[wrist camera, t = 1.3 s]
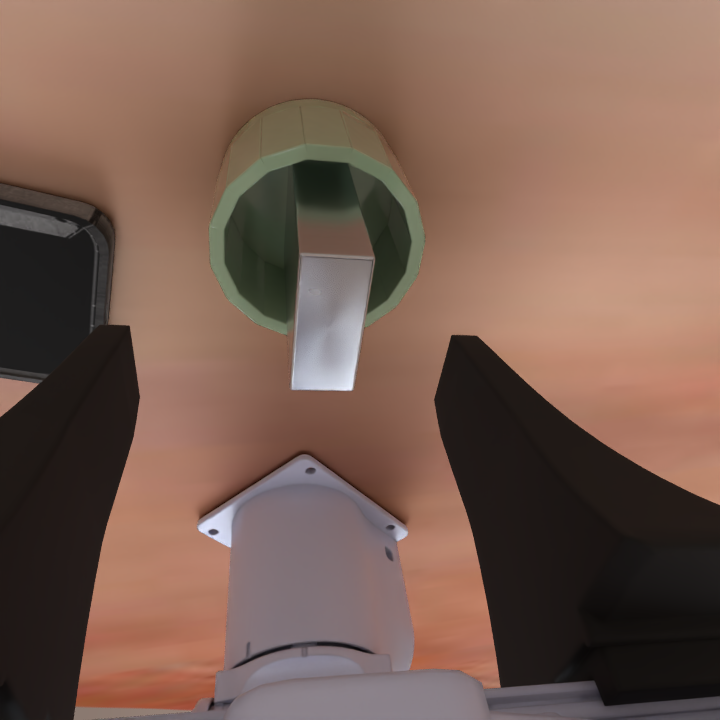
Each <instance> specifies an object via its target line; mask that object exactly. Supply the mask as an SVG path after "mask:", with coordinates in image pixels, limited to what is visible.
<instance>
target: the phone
mask: <svg viewBox="0 0 720 720" xmlns="http://www.w3.org/2000/svg"><path fill="white" fill-rule="evenodd" d="M114 248H115V232H114V228H113V226H112V224H111V222H110V220H109V219H108V218H107V217H106V216H105V215H104V213H103V212H101V211H100V210H98V209H97V208H95V207H94V206H91V205H89V204H86V203H83V202H80V201H75V200H71V199H67V198H62V197H58V196H54V195H49V194H45V193H41V192H36V191H32V190H28V189H23V188H19V187H15V186H10V185H6V184H2V183H0V378H6V379H12V380H19V381H26V382H33V383H41V382H42V381H43V380H44V379H45V378H46V377H47V376H48V375H49V374H50V373H51V372H52V371H53V370H54V369H56V368H57V367H58V366H59V365H60V364H61V363H62V362H63V361H64V360H65V359H66V358H67V357H68V356H69V355H70V354H71V353H72V352H73V351H74V350H75V349H76V348H77V347H78V346H79V345H80V343H81V342H82V341H83V340H84V339H85V338H86V337H87V336H88V335H89V334H90V333H91V332H92V331H93V330H94V329H95V328H96V327H98V326H99V325H108V319H109V307H110V295H111V284H112V272H113V260H114Z"/></svg>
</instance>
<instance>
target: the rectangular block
mask: <svg viewBox="0 0 720 720" xmlns="http://www.w3.org/2000/svg"><path fill="white" fill-rule="evenodd" d="M374 265H375V256H374V252H373V249H372V245H371V242H370V238H369V235H368V231H367V228H366V224H365V221H364V217H363V214H362V210H361V207H360V203H359V200H358V196H357V193H356V189H355V186H354V182H353V179H352V175H351V172H350V168H349V165H348V163H341V162H329V161H317V160H305V161H302V162H298V163H295V164H292V165H289V166H288V184H287V203H286V222H285V240H284V272H285V296H286V320H287V345H288V369H289V387H290V389H291V390H314V391H353V390H354V388H355V383H356V376H357V370H358V364H359V358H360V352H361V346H362V339H363V333H364V327H365V321H366V315H367V308H368V302H369V296H370V290H371V284H372V277H373V271H374Z"/></svg>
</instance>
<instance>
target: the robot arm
mask: <svg viewBox="0 0 720 720" xmlns="http://www.w3.org/2000/svg"><path fill="white" fill-rule="evenodd" d="M139 399H140V395H139V388H138V381H137V374H136V367H135V360H134V353H133V346H132V339H131V332H130V326H126V325H99V326H98V327H96V328H95V329H94V330H93V331H92V332H91V333H90V334H89V335H88V336H87V337H86V338H85V339H84V340H83V341H82V342H81V343H80V345H79V346H78V347H77V348H76V349H75V350H74V351H73V352H72V353H71V354H70V355H69V356H68V357H67V358H66V359H65V360H64V361H63V362H62V363H61V364H60V365H59V366H58V367H57V368H56V369H54V370H53V371H52V372H51V373H50V374H49V375H48V376H47V377H46V378H45V379H44V380H43V381H42V382H41V383H40V384H39V385H38V386H37V387H35V388H34V389H33V390H32V391H31V392H30V393H29V394H27V395H26V396H25V397H24V398H23V399H22V400H20V401H19V402H18V403H17V404H16V405H15V406H13V407H12V408H11V409H10V410H9V411H8V412H6V413H5V414H4V415H3V416H1V417H0V720H73V719H74V711H75V704H76V697H77V689H78V682H79V675H80V669H81V662H82V656H83V649H84V643H85V636H86V630H87V624H88V618H89V612H90V607H91V601H92V595H93V589H94V583H95V578H96V573H97V568H98V562H99V557H100V552H101V546H102V542H103V538H104V534H105V530H106V526H107V522H108V519H109V516H110V513H111V509H112V506H113V503H114V500H115V496H116V493H117V490H118V487H119V483H120V480H121V477H122V474H123V470H124V467H125V464H126V460H127V457H128V454H129V450H130V447H131V444H132V440H133V437H134V431H135V425H136V419H137V412H138V406H139ZM434 401H435V407H436V413H437V419H438V424H439V429H440V434H441V438H442V441H443V444H444V447H445V450H446V453H447V456H448V459H449V462H450V465H451V468H452V471H453V474H454V477H455V480H456V483H457V486H458V489H459V492H460V495H461V497H462V500H463V503H464V506H465V509H466V512H467V515H468V519H469V522H470V525H471V529H472V532H473V537H474V541H475V546H476V550H477V555H478V559H479V564H480V569H481V574H482V579H483V584H484V589H485V594H486V599H487V604H488V609H489V615H490V621H491V627H492V633H493V639H494V645H495V651H496V657H497V664H498V671H499V678H500V685H501V688H492V689H483V686H482V683H481V682H480V681H478V680H476V679H475V678H473V677H471V676H469V675H467V674H465V673H463V672H462V671H460V670H446V669H423V670H409V669H410V666H411V662H412V658H413V652H414V630H413V624H412V619H411V614H410V609H409V604H408V599H407V594H406V588H405V583H404V578H403V573H402V568H401V563H400V558H399V552H398V547H397V541H399V540H401V539H403V538H405V537H406V536H407V535H408V529H407V526H406V525H404V524H403V523H402V522H400V521H399V520H397V519H396V518H395V517H393V516H392V515H391V514H389V513H388V512H387V511H385V510H384V509H382V508H381V507H380V506H378V505H377V504H376V503H374V502H373V501H372V500H370V499H369V498H367V497H366V496H365V495H363V494H362V493H361V492H359V491H358V490H357V489H355V488H354V487H352V486H351V485H350V484H348V483H347V482H346V481H344V480H343V479H342V478H340V477H339V476H337V475H336V474H335V473H333V472H332V471H331V470H329V469H328V468H327V467H325V466H324V465H322V464H321V463H320V462H318V461H317V460H316V459H314V458H313V457H312V456H310V455H306V454H303V455H299V456H297V457H296V458H294V459H293V460H291V461H289V462H288V463H286V464H285V465H283V466H282V467H280V468H279V469H277V470H275V471H274V472H272V473H271V474H269V475H268V476H266V477H265V478H263V479H261V480H260V481H258V482H257V483H255V484H254V485H252V486H251V487H249V488H247V489H246V490H244V491H243V492H241V493H240V494H238V495H237V496H235V497H233V498H232V499H230V500H229V501H227V502H226V503H224V504H223V505H221V506H219V507H218V508H216V509H215V510H213V511H212V512H210V513H209V514H207V515H205V516H204V517H202V518H201V519H199V520H198V523H197V529H198V530H199V531H200V532H202V533H203V534H205V535H207V536H209V537H211V538H213V539H215V540H216V541H218V542H220V543H222V544H224V545H226V546H228V547H229V548H231V552H230V569H229V587H228V604H227V622H226V640H225V657H224V670H223V671H218V672H217V673H216V682H215V697H214V698H202V699H200V700H199V701H198V702H197V704H196V705H195V708H194V709H193V710H192V711H191V712H185V713H172V714H159V715H146V716H134V717H120V718H108V719H95V720H720V505H718V504H716V503H713V502H711V501H709V500H706V499H704V498H702V497H699V496H697V495H695V494H693V493H691V492H688V491H686V490H684V489H682V488H680V487H678V486H676V485H675V484H673V483H671V482H669V481H667V480H665V479H663V478H661V477H659V476H657V475H655V474H653V473H651V472H650V471H648V470H646V469H644V468H642V467H641V466H639V465H637V464H636V463H634V462H632V461H631V460H629V459H627V458H626V457H624V456H622V455H621V454H619V453H617V452H616V451H614V450H613V449H611V448H609V447H608V446H606V445H605V444H603V443H602V442H600V441H599V440H597V439H596V438H595V437H593V436H592V435H590V434H589V433H588V432H586V431H585V430H583V429H582V428H580V427H579V426H578V425H576V424H575V423H574V422H572V421H571V420H570V419H568V418H567V417H566V416H565V415H564V414H562V413H561V412H560V411H559V410H557V409H556V408H555V407H554V406H553V405H551V404H550V403H549V402H548V401H547V400H545V399H544V398H543V397H542V396H541V395H540V394H538V393H537V392H536V391H535V390H534V389H533V388H532V387H531V386H530V385H528V384H527V383H526V382H525V381H524V380H523V379H522V378H521V377H520V376H519V375H518V374H517V373H516V372H514V371H513V370H512V369H511V368H510V367H509V366H508V365H507V364H506V363H505V362H504V361H503V360H502V359H501V358H500V357H499V356H498V355H497V354H496V353H495V352H494V351H493V350H492V349H491V348H489V347H488V346H487V345H486V344H485V343H484V342H483V341H482V340H481V339H480V338H479V337H477V336H468V335H452V336H451V339H450V343H449V347H448V351H447V354H446V358H445V362H444V365H443V369H442V373H441V377H440V380H439V384H438V388H437V391H436V395H435V399H434Z"/></svg>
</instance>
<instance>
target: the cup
mask: <svg viewBox="0 0 720 720" xmlns="http://www.w3.org/2000/svg"><path fill="white" fill-rule="evenodd" d="M305 160H317V161H329V162H341V163H348V165H349V168H350V172H351V175H352V179H353V182H354V186H355V189H356V193H357V196H358V200H359V203H360V207H361V210H362V214H363V217H364V221H365V224H366V228H367V231H368V235H369V238H370V242H371V245H372V249H373V252H374V256H375V265H374V271H373V277H372V284H371V290H370V296H369V302H368V308H367V315H366V321H365V327H368V326H370V325H371V324H372V323H374V322H375V321H377V320H378V319H380V318H381V317H382V316H384V315H385V314H387V313H388V312H390V311H391V310H392V309H394V308H395V307H396V306H397V305H398V304H399V302H400V301H401V300H402V298H403V297H404V295H405V294H406V292H407V291H408V289H409V288H410V287H411V285H412V284H413V282H414V281H415V279H416V278H417V275H418V273H419V269H420V264H421V259H422V255H423V250H424V245H425V233H424V229H423V224H422V219H421V215H420V210H419V206H418V202H417V200H416V198H415V196H414V194H413V192H412V189H411V187H410V185H409V183H408V181H407V179H406V177H405V174H404V172H403V170H402V168H401V166H400V164H399V162H398V159H397V157H396V156H395V155H394V153H393V152H392V151H391V149H390V146H389V145H388V143H387V141H386V140H385V138H384V137H383V135H382V134H381V133H380V132H379V131H378V129H377V128H376V127H375V126H374V125H373V124H372V123H371V122H369V121H368V120H367V119H366V118H365V117H363V116H362V115H360V114H359V113H357V112H356V111H354V110H352V109H350V108H348V107H346V106H343V105H340V104H337V103H334V102H331V101H325V100H319V99H301V100H292V101H288V102H284V103H280V104H277V105H275V106H273V107H270V108H268V109H266V110H264V111H263V112H261V113H259V114H257V115H256V116H255V117H253V118H252V119H251V120H250V121H248V122H247V123H246V124H245V125H244V126H243V127H242V128H241V129H240V130H239V131H238V133H237V134H236V136H235V137H234V138H233V140H232V141H231V143H230V145H229V147H228V149H227V151H226V153H225V156H224V159H223V161H222V165H221V170H220V173H219V175H218V177H217V183H216V188H215V194H214V200H213V206H212V211H211V217H210V223H209V252H210V265H211V268H212V270H213V272H214V274H215V276H216V278H217V280H218V282H219V284H220V286H221V288H222V290H223V292H224V294H225V296H226V298H227V299H228V300H229V301H230V302H231V303H232V304H233V305H234V306H236V307H237V308H238V309H239V310H240V311H242V312H243V313H244V314H245V315H246V316H247V317H249V318H250V319H251V320H252V321H253V322H254V323H257V324H258V325H260V326H263V327H265V328H268V329H271V330H273V331H276V332H279V333H281V334H284V335H287V320H286V296H285V272H284V240H285V222H286V203H287V184H288V166H289V165H292V164H295V163H298V162H302V161H305ZM365 327H364V328H365Z"/></svg>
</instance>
